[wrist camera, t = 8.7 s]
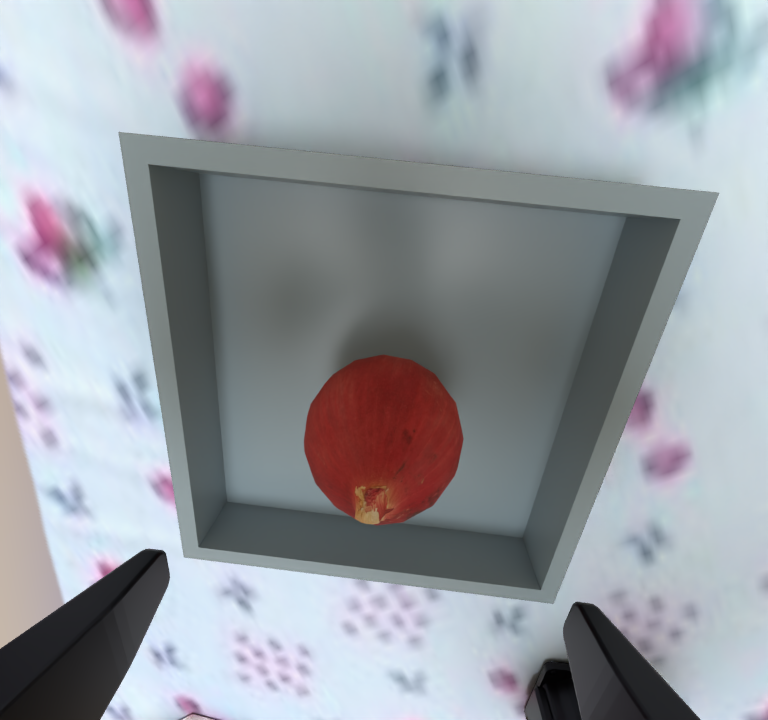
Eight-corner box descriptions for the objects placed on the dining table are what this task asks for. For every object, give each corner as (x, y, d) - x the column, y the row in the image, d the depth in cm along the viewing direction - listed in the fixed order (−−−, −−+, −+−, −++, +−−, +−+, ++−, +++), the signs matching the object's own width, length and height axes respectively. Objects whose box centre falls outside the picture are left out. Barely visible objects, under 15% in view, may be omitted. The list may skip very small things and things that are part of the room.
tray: (639, 197, 15) (718, 192, 11) (528, 535, 21) (553, 603, 18) (190, 151, 15) (118, 131, 11) (222, 498, 22) (183, 557, 18)
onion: (474, 406, 17) (524, 552, 10) (375, 460, 19) (353, 622, 11) (405, 305, 16) (402, 389, 8) (302, 373, 17) (222, 496, 10)
